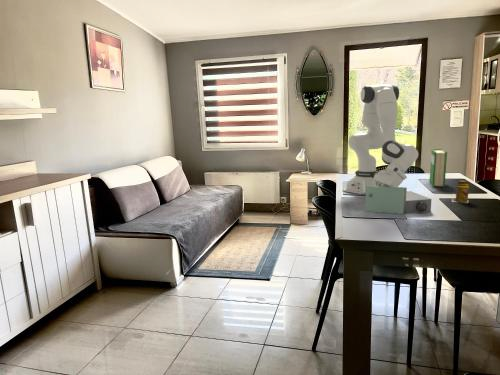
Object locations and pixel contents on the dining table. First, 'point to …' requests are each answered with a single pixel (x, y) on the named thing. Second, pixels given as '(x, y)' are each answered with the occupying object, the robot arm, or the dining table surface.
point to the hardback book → (438, 167)
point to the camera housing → (417, 203)
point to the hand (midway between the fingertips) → (377, 190)
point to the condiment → (462, 192)
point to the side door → (386, 199)
